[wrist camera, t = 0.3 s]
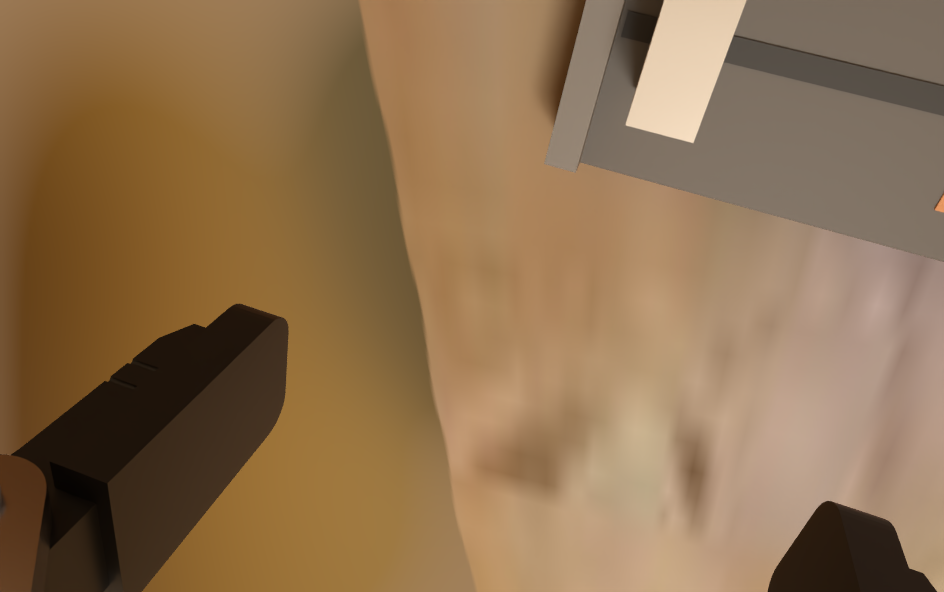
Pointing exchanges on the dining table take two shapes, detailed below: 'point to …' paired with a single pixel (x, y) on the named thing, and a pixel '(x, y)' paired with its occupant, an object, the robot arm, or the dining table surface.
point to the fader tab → (683, 65)
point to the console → (782, 115)
